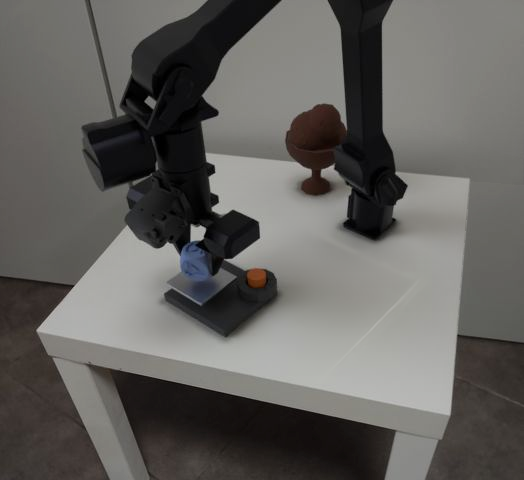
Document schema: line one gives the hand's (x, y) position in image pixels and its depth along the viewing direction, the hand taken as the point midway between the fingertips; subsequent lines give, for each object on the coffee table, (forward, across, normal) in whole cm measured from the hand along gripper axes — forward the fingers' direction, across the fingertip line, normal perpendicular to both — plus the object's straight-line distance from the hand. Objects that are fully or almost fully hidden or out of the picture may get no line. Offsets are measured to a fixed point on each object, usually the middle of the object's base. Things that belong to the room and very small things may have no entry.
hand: (199, 266), depth 75 cm
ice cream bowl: (+6, -5, +33) cm, 34 cm away
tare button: (+3, +6, +5) cm, 8 cm away
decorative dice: (+1, 0, 0) cm, 1 cm away
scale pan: (+3, 0, 0) cm, 3 cm away
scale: (+6, +2, +1) cm, 6 cm away
